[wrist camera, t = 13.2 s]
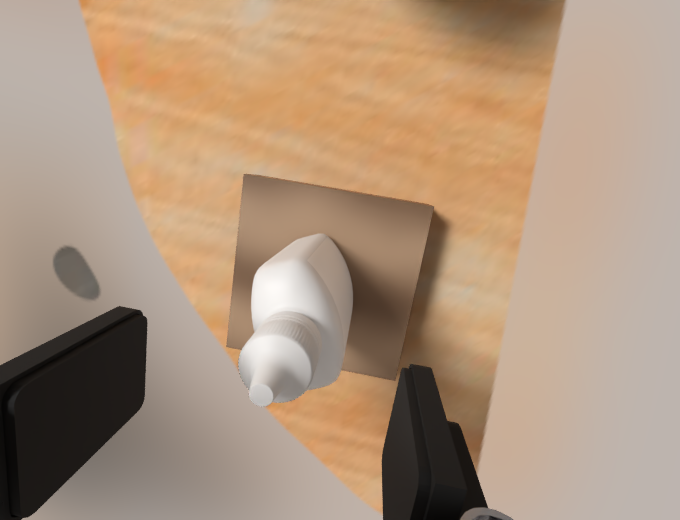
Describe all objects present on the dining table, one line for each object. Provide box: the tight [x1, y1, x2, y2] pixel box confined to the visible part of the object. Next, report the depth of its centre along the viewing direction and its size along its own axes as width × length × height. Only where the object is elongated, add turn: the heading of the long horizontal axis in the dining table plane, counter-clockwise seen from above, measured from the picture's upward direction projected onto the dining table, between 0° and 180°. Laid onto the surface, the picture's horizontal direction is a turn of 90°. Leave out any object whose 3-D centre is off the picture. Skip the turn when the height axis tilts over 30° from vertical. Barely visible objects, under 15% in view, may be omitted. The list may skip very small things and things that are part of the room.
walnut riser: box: [226, 174, 434, 381], centre depth 23 cm, size 11×11×2 cm
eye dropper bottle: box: [238, 234, 353, 407], centre depth 16 cm, size 4×6×12 cm
